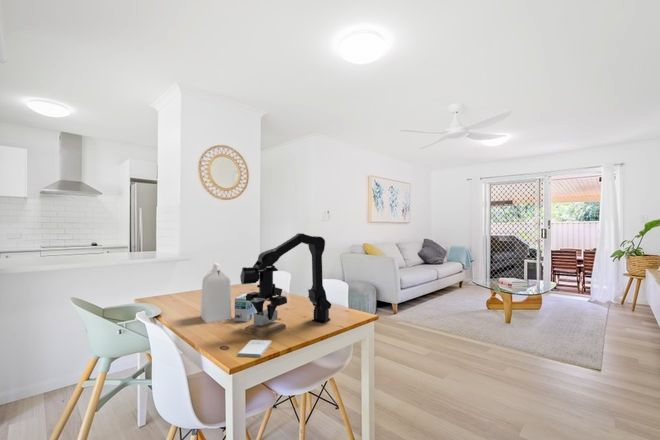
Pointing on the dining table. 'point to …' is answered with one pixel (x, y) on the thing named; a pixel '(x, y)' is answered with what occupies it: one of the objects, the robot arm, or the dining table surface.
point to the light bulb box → (244, 309)
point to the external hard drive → (255, 348)
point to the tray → (265, 329)
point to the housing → (264, 317)
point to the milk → (216, 296)
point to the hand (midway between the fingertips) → (265, 318)
